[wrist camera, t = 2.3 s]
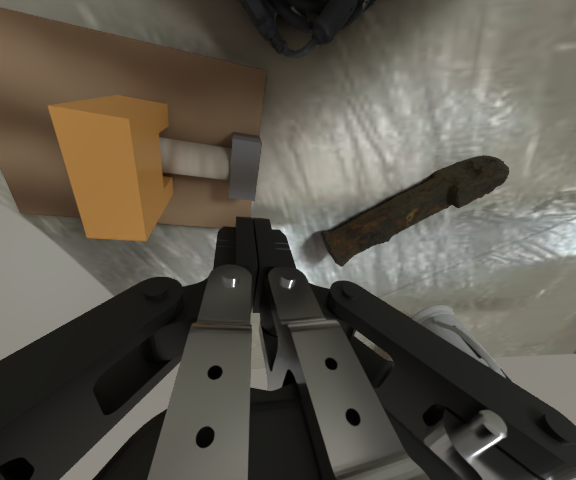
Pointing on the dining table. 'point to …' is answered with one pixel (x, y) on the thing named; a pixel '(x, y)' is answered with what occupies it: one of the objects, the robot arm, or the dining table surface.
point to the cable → (303, 19)
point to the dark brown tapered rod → (416, 205)
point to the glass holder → (455, 334)
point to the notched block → (114, 163)
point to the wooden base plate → (136, 84)
